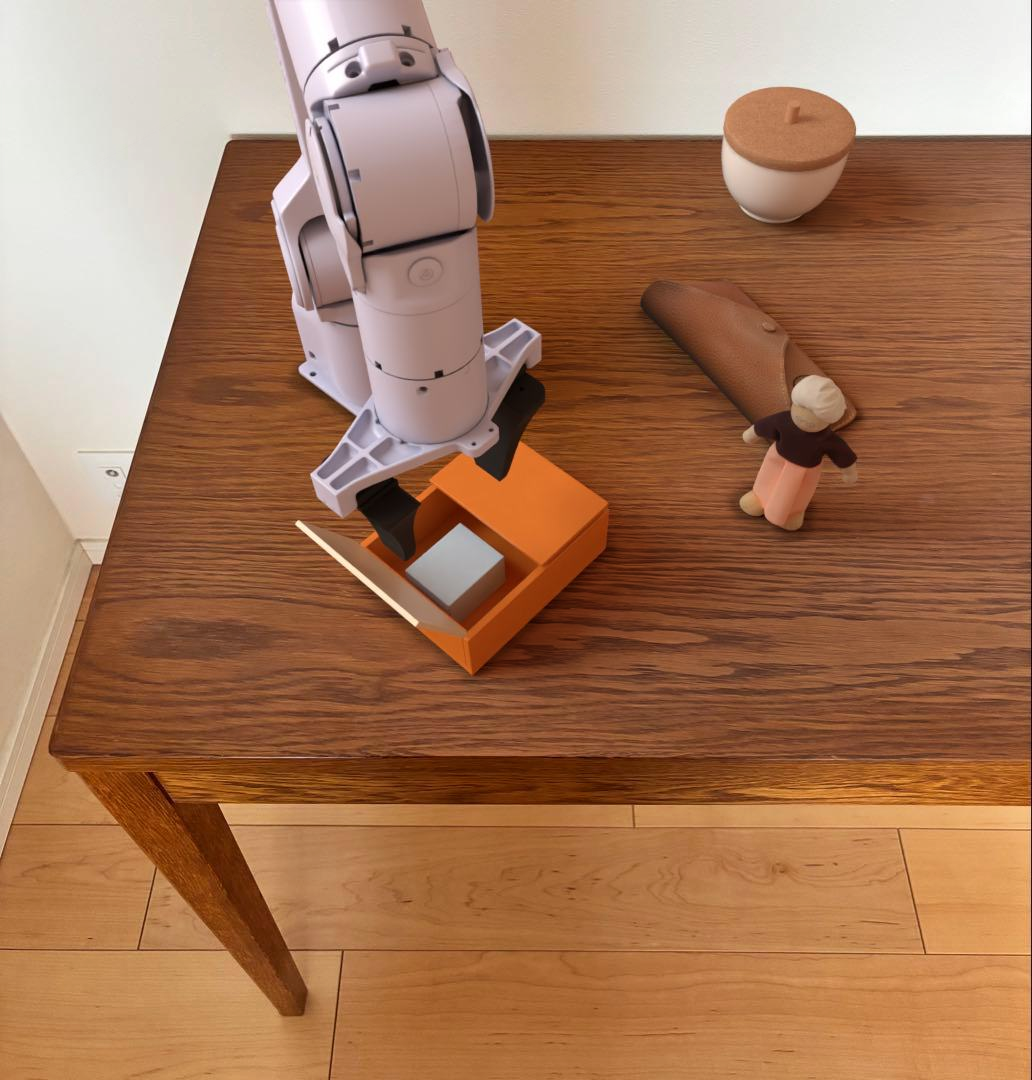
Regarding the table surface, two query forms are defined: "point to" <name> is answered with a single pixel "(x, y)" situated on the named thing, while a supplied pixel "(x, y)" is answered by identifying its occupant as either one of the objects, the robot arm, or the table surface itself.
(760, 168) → the trinket box
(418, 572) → the pale grey cuboid
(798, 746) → the table surface
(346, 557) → the flap
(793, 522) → the grandmother figurine
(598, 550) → the orange flip-lid box
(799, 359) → the sunglasses case
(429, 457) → the robot arm
